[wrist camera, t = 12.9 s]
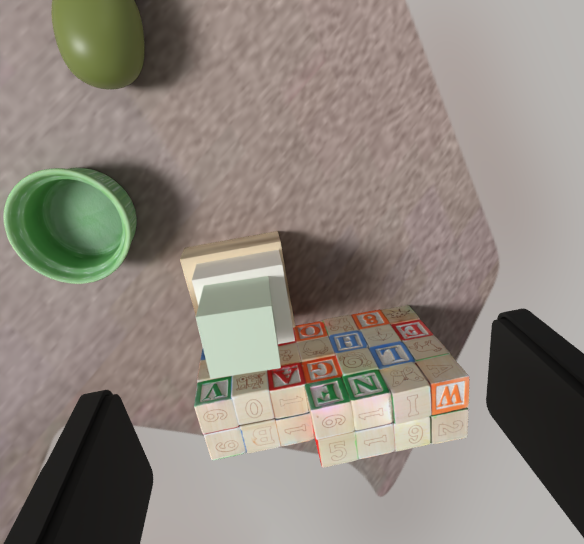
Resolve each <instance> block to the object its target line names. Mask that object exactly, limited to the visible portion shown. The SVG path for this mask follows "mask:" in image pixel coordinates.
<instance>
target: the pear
mask: <svg viewBox="0 0 584 544" xmlns="http://www.w3.org/2000/svg"><path fill="white" fill-rule="evenodd" d="M52 23H53V29H54V34H55V38H56V42H57V45H58V48H59V51H60V53H61V56H62V58H63V60H64V62H65V63H66V65H67V66H68V68H69V69H70V70H71V72H72V73H73V74H74V75H75V76H76V77H77V78H79V79H80V80H82V81H83V82H85V83H87V84H89V85H91V86H94V87H97V88H101V89H119V88H123V87H125V86H128V85H129V84H131V83H132V82H134V81H135V80H136V78H137V77H138V76H139V74H140V72H141V70H142V67H143V62H144V51H145V46H144V33H143V26H142V20H141V16H140V13H139V10H138V7H137V5H136V3H135V1H134V0H53V1H52Z"/></svg>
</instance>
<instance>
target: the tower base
mask: <svg viewBox="0 0 584 544" xmlns="http://www.w3.org/2000/svg"><path fill="white" fill-rule="evenodd" d="M278 249H279V253H280V257H281V261H282V266H283V272H284V278H285V284H286V290H287V296H288V302H289V308H290V314H291V320H292V326H293V328H295V323H294V317H293V311H292V305H291V300H290V294H289V288H288V282H287V276H286V271H285V265H284V259H283V253H282V247H281V242H280V238H279V234H278V231H275V232H270V233H264V234H259V235H253V236H248V237H242V238H237V239H231V240H226V241H220V242H215V243H209V244H204V245H198V246H193V247H187V248H184V251H183V253H182V256H181V258H180V261H181V265H182V268H183V272H184V275H185V279H186V282H187V286H188V290H189V293H190V297H191V300H192V304H193V307H194V311H195V314H197V310H198V302H197V299H196V295H195V291H194V287H193V284H192V278H193V274H194V271H195V267H196V264H198V263H204V262H210V261H215V260H221V259H227V258H232V257H238V256H244V255H249V254H255V253H261V252H267V251H272V250H278Z"/></svg>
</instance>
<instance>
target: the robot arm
mask: <svg viewBox="0 0 584 544" xmlns="http://www.w3.org/2000/svg"><path fill="white" fill-rule="evenodd" d="M486 403H487V407H488V410H489V412H490V414H491V416H492V417H493V418H494V420H495V421H496V422H497V424H498V425H499V427H500V428H501V429H502V430H503V432H504V433H505V434H506V436H507V437H508V438H509V440H510V441H511V442H512V444H513V445H514V446H515V448H516V449H517V450H518V452H519V453H520V454H521V456H522V457H523V458H524V460H525V461H526V462H527V463H528V465H529V466H530V468H531V469H532V470H533V471H534V473H535V474H536V475H537V477H538V478H539V479H540V481H541V482H542V483H543V485H544V486H545V487H546V488H547V490H548V491H549V493H550V494H551V495H552V496H553V498H554V499H555V501H556V502H557V503H558V505H559V506H560V507H561V508H562V510H563V511H564V512H565V514H566V515H567V516H568V517H569V519H570V520H571V522H572V523H573V524H574V526H575V527H576V528H577V530H578V531H579V532H580V533H581V535H582V536H583V537H584V354H583V353H582V352H581V351H579V350H578V349H577V348H576V347H574V346H573V345H572V344H570V343H569V342H568V341H567V340H565V339H564V338H563V337H562V336H560V335H559V334H558V333H557V332H555V331H554V330H553V329H551V328H550V327H549V326H548V325H546V324H545V323H544V322H543V321H541V320H540V319H539V318H537V317H536V316H535V315H534V314H532V313H531V312H530V311H528V310H526V309H518V310H513V311H508V312H503V313H500V314H499V316H498V318H497V320H494V321H493V323H492V332H491V344H490V358H489V371H488V384H487V397H486ZM152 486H153V473H152V469H151V466H150V464H149V462H148V459H147V457H146V455H145V453H144V450H143V448H142V446H141V443H140V441H139V439H138V437H137V434H136V432H135V430H134V427H133V425H132V423H131V421H130V418H129V416H128V414H127V411H126V409H125V407H124V405H123V402H122V400H121V398H120V396H119V395H118V394H114V395H113V394H112V393H111V392H110V391H109V390H103V391H98V392H93V393H88V394H84V395H82V396H81V397H80V399H79V400H78V402H77V404H76V406H75V408H74V410H73V412H72V414H71V416H70V418H69V420H68V422H67V424H66V426H65V428H64V430H63V432H62V434H61V435H60V437H59V439H58V441H57V443H56V445H55V447H54V449H53V451H52V453H51V455H50V457H49V459H48V461H47V463H46V464H45V466H44V467H43V469H42V470H41V472H40V474H39V476H38V478H37V480H36V482H35V484H34V486H33V488H32V490H31V492H30V494H29V496H28V498H27V500H26V502H25V503H24V505H23V507H22V509H21V511H20V513H19V515H18V517H17V519H16V521H15V523H14V525H13V527H12V529H11V531H10V533H9V535H8V536H7V538H6V540H5V542H4V544H140V541H141V536H142V531H143V527H144V522H145V518H146V513H147V509H148V504H149V500H150V495H151V491H152Z"/></svg>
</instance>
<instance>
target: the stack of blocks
mask: <svg viewBox="0 0 584 544" xmlns="http://www.w3.org/2000/svg"><path fill="white" fill-rule="evenodd" d="M293 332H294V338H295V341H292V342H287V343H281V344H278V349H279V357H280V365H281V368H278V369H272V370H265V371H259V372H252V373H246V374H239V375H233V376H226V377H220V378H213V379H210V375H209V371H208V367H207V363H206V358H205V354H204V350H203V349H202V355H201V362H200V366H199V372H198V379H197V382H198V383H197V389H196V397H195V404H194V407H195V410H196V414H197V417H198V420H199V423H200V427H201V430H202V433H203V434H204V437H205V441H206V444H207V447H208V450H209V454H210V457H211V460H217V459H222V458H226V457H231V456H236V455H240V454H244V453H252V452H257V451H263V450H266V449H272V448H277V447H280V446H287V445H292V444H297V443H301V442H305V441H309V440H312V439H314V438H315V441H316V445H317V449H318V453H319V457H320V462H321V466H322V467H328V466H333V465H337V464H342V463H347V462H351V461H355V460H358V459H363V458H369V457H373V456H377V455H382V454H387V453H391V452H393V451H401V450H406V449H410V448H415V447H420V446H424V445H429V444H430V443H432V444H437V443H442V442H447V441H452V440H457V439H462V438H465V437H467V430H468V414H469V410H468V408H467V407H468V404H469V375H468V374H467V373H466V372H465V371H464V370H463V369H462V367H461V366H460V365H459V364H458V363H457V362H456V361H455V359H454V358H453V357H452V356H451V354H450V352H449V351H448V350H447V349H446V348H445V346H444V345H443V344H442V343H441V342H440V341H439V340H438V339H437V337H436V336H434V335H433V333H432V332H431V331H430V330H429V329H428V328H427V326H426V325H425V324H424V323H423V322H422V321H421V320H420V318H419V317H418V315H417V314H416V313H415V312H414V311H413V310H412V309H411V307H410V306H409V305H407V306H401V307H396V308H390V309H384V310H375V311H369V312H364V313H358V314H353V315H347V316H340V317H335V318H330V319H325V320H323V321H320V322H315V323H309V324H303V325H298V326H295V328H293Z"/></svg>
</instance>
